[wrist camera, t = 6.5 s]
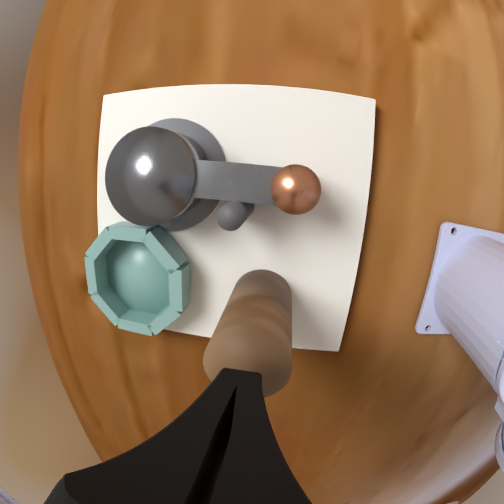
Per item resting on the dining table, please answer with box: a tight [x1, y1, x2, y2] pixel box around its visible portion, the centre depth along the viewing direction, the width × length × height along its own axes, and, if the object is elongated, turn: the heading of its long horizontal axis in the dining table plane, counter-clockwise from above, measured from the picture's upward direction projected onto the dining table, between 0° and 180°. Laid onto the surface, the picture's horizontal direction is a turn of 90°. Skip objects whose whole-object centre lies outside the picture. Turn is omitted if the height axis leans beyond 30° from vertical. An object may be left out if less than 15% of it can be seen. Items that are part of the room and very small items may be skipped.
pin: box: [203, 269, 292, 397], centre depth 14 cm, size 4×4×7 cm
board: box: [97, 84, 375, 351], centre depth 15 cm, size 17×16×5 cm
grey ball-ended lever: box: [105, 126, 321, 226], centre depth 14 cm, size 11×5×3 cm, turn 84°
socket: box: [84, 221, 191, 336], centre depth 17 cm, size 7×7×2 cm
